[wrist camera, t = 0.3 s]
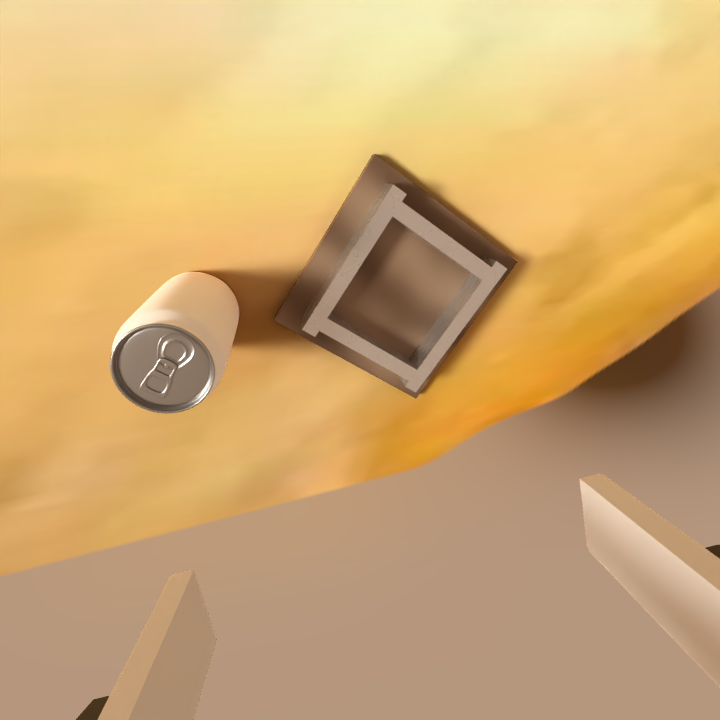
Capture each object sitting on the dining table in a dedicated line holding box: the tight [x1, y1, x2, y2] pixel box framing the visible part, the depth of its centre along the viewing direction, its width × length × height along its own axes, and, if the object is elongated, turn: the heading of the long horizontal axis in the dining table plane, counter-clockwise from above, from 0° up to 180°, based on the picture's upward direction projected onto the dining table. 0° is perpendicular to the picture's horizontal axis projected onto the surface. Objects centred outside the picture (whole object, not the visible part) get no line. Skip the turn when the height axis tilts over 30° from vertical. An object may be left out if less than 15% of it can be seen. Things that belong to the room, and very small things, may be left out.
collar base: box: [274, 154, 517, 398], centre depth 37 cm, size 15×15×1 cm
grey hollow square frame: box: [301, 183, 507, 392], centre depth 36 cm, size 13×11×2 cm
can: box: [110, 272, 239, 413], centre depth 31 cm, size 6×6×12 cm
